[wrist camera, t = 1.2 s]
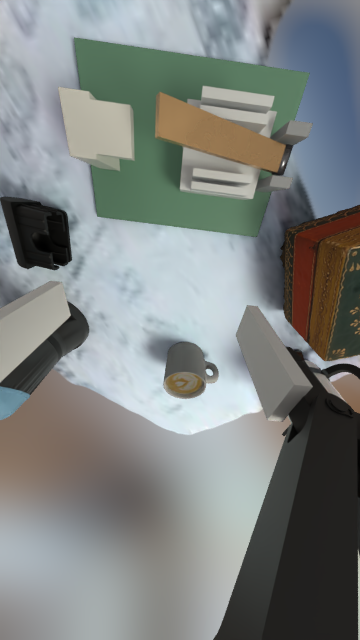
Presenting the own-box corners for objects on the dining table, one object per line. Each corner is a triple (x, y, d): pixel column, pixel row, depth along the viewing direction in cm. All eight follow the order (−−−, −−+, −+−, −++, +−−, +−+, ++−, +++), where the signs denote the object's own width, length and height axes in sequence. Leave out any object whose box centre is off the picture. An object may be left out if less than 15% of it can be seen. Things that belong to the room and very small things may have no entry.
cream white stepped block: (100, 168, 26) (70, 156, 20) (95, 120, 24) (57, 86, 17) (146, 174, 27) (131, 164, 20) (146, 127, 24) (129, 97, 17)
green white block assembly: (100, 216, 31) (71, 219, 23) (79, 45, 21) (16, -46, 14) (254, 236, 32) (275, 245, 24) (304, 79, 22) (366, 10, 14)
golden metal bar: (153, 140, 15) (159, 137, 14) (154, 95, 14) (161, 87, 13) (276, 176, 23) (285, 175, 22) (284, 148, 21) (295, 146, 20)
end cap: (24, 197, 30) (-14, 195, 25) (67, 208, 31) (39, 209, 25) (37, 255, 36) (8, 265, 30) (72, 264, 36) (51, 275, 31)
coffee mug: (164, 363, 51) (159, 394, 43) (172, 338, 46) (168, 367, 37) (207, 373, 53) (211, 404, 44) (220, 349, 47) (226, 380, 39)
